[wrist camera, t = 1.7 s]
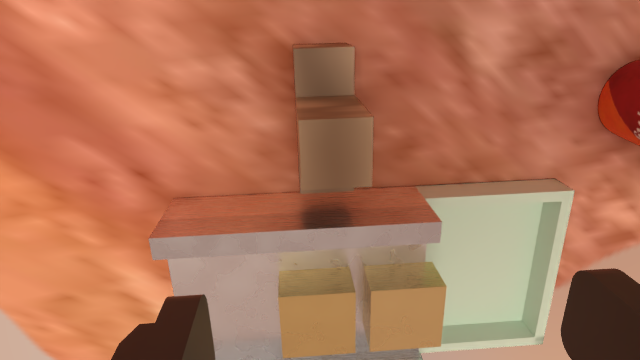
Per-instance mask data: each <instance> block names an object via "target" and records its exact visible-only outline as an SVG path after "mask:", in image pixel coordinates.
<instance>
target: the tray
mask: <svg viewBox="0 0 640 360" xmlns="http://www.w3.org/2000/svg"><path fill="white" fill-rule="evenodd" d="M415 187H416V188H417V189H418V191H419V192H420V193H421V195H422V196H423V197H424V198H425V200H426V201H427V202H428V204H429V205H430V206H431V208H432V209H433V210H434V212H435V213H436V214H437V216H438V217H439V218H440V220H441V221H442V228H441V240H440V243H429V244H427V246H426V259H425V262H433V264H434V266H435V267H436V269H437V271H438V272H439V274H440V276H441V278H442V279H443V281H444V283H445V284H446V286H447V289H446V299H445V309H444V319H443V329H442V339H441V347H429V348H419V351H420V353H430V352H444V351H456V350H470V349H483V348H495V347H510V346H523V345H537V344H543V339H544V334H545V330H546V325H547V320H548V315H549V310H550V305H551V301H552V296H553V291H554V287H555V282H556V277H557V272H558V268H559V263H560V258H561V253H562V249H563V244H564V239H565V234H566V230H567V225H568V220H569V215H570V211H571V206H572V201H573V196H574V192H575V191H574V190H573V189H571V188H570V187H568V186H566V185H565V184H563V183H561V182H560V181H558V180H556V179H540V180H521V181H501V182H482V183H463V184H444V185H424V186H415Z"/></svg>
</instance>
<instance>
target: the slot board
mask: <svg viewBox="0 0 640 360" xmlns="http://www.w3.org/2000/svg"><path fill="white" fill-rule="evenodd" d="M441 228H442V221H441V220H440V218H439V217H438V216H437V214H436V213H435V212H434V210H433V209H432V208H431V206H430V205H429V204H428V202H427V201H426V200H425V198H424V197H423V196H422V195H421V193H420V192H419V191H418V189H417V188H416V187H415V186H405V187H386V188H367V189H354V191H348V192H329V193H310V194H300V192H290V193H270V194H251V195H232V196H213V197H193V198H174V199H173V201H172V202H171V204H170V205H169V207H168V209H167V210H166V212H165V213H164V215H163V216H162V218H161V220H160V221H159V223H158V224H157V226H156V228H155V229H154V231H153V232H152V234H151V236H150V237H149V243H150V248H151V253H152V258H153V260H162V259H168V265H169V270H170V275H171V281H172V286H173V292H174V296H187V295H202V294H204V295H205V296H206V298H207V302H208V309H209V316H210V322H211V329H212V336H213V343H214V350H215V360H423V359H422V356H421V354H420V351H419V348H415V349H402V350H388V351H375V352H370V351H369V347H368V343H367V338H366V334H365V330H364V326H363V266H370V265H386V264H402V263H418V262H425V259H426V246H427V244H429V243H440V240H441ZM338 267H350V271H351V275H352V279H353V283H354V287H355V291H356V337H355V353H348V354H334V355H321V356H308V357H294V358H283V355H282V342H281V329H280V315H279V302H278V287H279V271H290V270H306V269H322V268H338Z"/></svg>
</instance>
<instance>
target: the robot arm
mask: <svg viewBox="0 0 640 360" xmlns="http://www.w3.org/2000/svg"><path fill="white" fill-rule="evenodd" d="M561 337H562V342H563V345H564V348H565V350H566V352H567V353H568V355H569V357H570V358H571V359H572V360H640V284H638V283H637V282H636V281H634V280H633V279H632V278H630V277H629V276H628V275H626V274H625V273H624V272H622V271H621V270H618V269H599V270H583V271H578V272H577V273H575V275H574V276H573V278H572V282H571V287H570V290H569V295H568V299H567V304H566V308H565V312H564V317H563V321H562V326H561ZM111 360H215V350H214V343H213V336H212V329H211V322H210V316H209V309H208V302H207V298H206V296H205V295H204V294H202V295H187V296H172V297H167V298H166V299H165V301H164V304H163V306H162V308H161V310H160V313H159V315H158V317H157V320H156V322H155V323H149V324H139V325H138V326H137V327H136V328H135V329H134V330H133V331H132V332H131V333H130V334H129V335H128V336H127V337H126V338H125V339H124V340H123V341H122V342H121V343H119V345H118V347H117V349H116V351H115V353H114V355H113V357H112V359H111Z"/></svg>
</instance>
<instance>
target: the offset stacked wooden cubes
mask: <svg viewBox="0 0 640 360" xmlns="http://www.w3.org/2000/svg"><path fill="white" fill-rule="evenodd" d="M293 61H294V82H295V103H296V124H297V145H298V166H299V182H300V194H310V193H329V192H348V191H354V188H357V187H372V169H373V120H374V117H373V116H372V115H371V114H370V112H369V111H368V110H367V109H366V108H365V107H364V105H363V104H362V103H361V102H360V101H359V100H358V98H357V97H356V96H355V95H354V64H355V47H354V46H352V45H349V44H347V43H324V44H293Z"/></svg>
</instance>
